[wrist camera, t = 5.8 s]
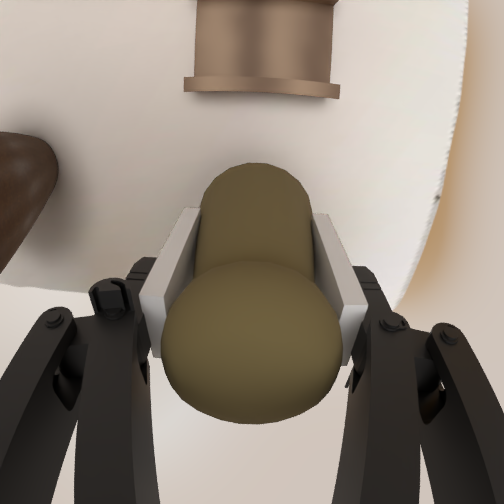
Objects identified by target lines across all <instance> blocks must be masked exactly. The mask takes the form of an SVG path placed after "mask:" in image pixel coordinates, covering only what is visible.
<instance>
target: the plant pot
mask: <svg viewBox="0 0 504 504" xmlns="http://www.w3.org/2000/svg"><path fill="white" fill-rule="evenodd" d="M57 176H58V166H57V160H56V157H55V154H54V152H53V151H52V149H51V147H50V146H49V145H48V144H47V143H46V142H45V141H43V140H41V139H39V138H35V137H32V136H28V135H23V134H17V133H10V132H0V274H1V272H2V271H3V269H4V268H5V267H6V265H7V264H8V262H9V261H10V260H11V258H12V257H13V255H14V254H15V252H16V251H17V249H18V248H19V246H20V245H21V243H22V242H23V240H24V239H25V237H26V235H27V234H28V232H29V231H30V229H31V228H32V226H33V224H34V223H35V221H36V219H37V218H38V216H39V214H40V213H41V211H42V209H43V207H44V205H45V204H46V202H47V200H48V198H49V196H50V194H51V192H52V190H53V188H54V186H55V184H56V181H57Z"/></svg>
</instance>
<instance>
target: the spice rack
mask: <svg viewBox="0 0 504 504" xmlns="http://www.w3.org/2000/svg"><path fill="white" fill-rule="evenodd" d="M338 1H339V0H197V17H196V38H195V67H194V77H184V92H192V91H247V92H270V93H285V94H297V95H308V96H317V97H326V98H333V99H339V95H340V85H338V84H331V83H330V71H331V54H332V33H333V6H334V5H335V4H336V3H337V2H338Z"/></svg>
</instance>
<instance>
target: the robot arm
mask: <svg viewBox="0 0 504 504" xmlns="http://www.w3.org/2000/svg"><path fill="white" fill-rule="evenodd" d="M200 218H201V208H184V209H183V211H182V213H181V215H180V217H179V218H178V220H177V222H176V224H175V226H174V227H173V229H172V231H171V233H170V235H169V237H168V239H167V240H166V242H165V244H164V246H163V248H162V250H161V252H160V254H159V256H158V258H153V257H143V258H141V259H140V260H139V261H137V262H136V263H135V264H134V265H133V267H132V269H131V270H130V273H129V274H128V275H127V277H126V280H123V279H120V278H108V279H103V280H101V281H99V282H97V283H95V284H94V285H93V286H92V287H91V288H90V290H89V292H88V293H89V296H90V300H91V303H92V306H93V309H94V312H95V315H92V316H87V317H78V318H74V317H73V315H72V312H71V311H70V310H69V309H68V308H65V307H54V308H51V309H48V310H47V311H45V312H43V314H42V315H41V316H40V317H39V318H38V320H37V321H36V323H35V324H34V325H33V327H32V328H31V330H30V331H29V333H28V335H27V336H26V338H25V339H24V341H23V342H22V344H21V346H20V347H19V349H18V351H17V352H16V354H15V355H14V357H13V359H12V360H11V362H10V364H9V365H8V367H7V369H6V371H5V372H4V374H3V376H2V377H1V380H0V504H51V502H52V498H53V495H54V491H55V487H56V484H57V480H58V477H59V474H60V470H61V467H62V464H63V461H64V458H65V455H66V451H67V449H68V446H69V443H70V440H71V437H72V434H73V431H74V428H75V425H76V422H77V420H78V425H77V436H76V449H75V473H74V474H75V475H74V504H160V499H159V492H158V484H157V475H156V466H155V456H154V445H153V433H152V418H151V399H150V366H149V362H148V359H147V356H148V353H149V350H150V347H151V350H152V354H153V357H155V358H161V336H162V332H163V328H164V323H165V320H166V317H167V314H168V312H169V309H170V307H171V306H172V304H173V303H174V302H175V301H176V299H177V298H178V297H179V296H180V294H181V293H182V292H183V291H184V289H185V288H186V287H187V286H188V285H189V284H190V282H191V281H192V280H193V271H194V260H195V249H196V240H197V234H198V229H199V224H200ZM311 226H312V234H313V243H314V269H315V284H316V285H317V287H318V288H319V289H320V290H321V292H322V293H323V294H324V296H325V297H326V299H327V300H328V302H329V303H330V305H331V306H332V308H333V309H334V311H335V312H336V314H337V318H338V321H339V324H340V328H341V334H342V342H343V357H342V364H341V366H347V364H348V362H349V359H350V356H352V360H353V363H354V366H353V368H352V370H351V373H350V375H349V378H348V380H347V382H346V385H345V388H348V386H349V392H348V393H349V394H348V402H347V411H346V419H345V428H344V435H343V442H342V448H341V455H340V462H339V467H338V473H337V479H336V484H335V489H334V495H333V500H332V504H419V492H420V491H419V490H420V444H421V448H422V452H423V456H424V459H425V464H426V468H427V471H428V476H429V481H430V485H431V489H432V494H433V499H434V504H504V413H503V411H502V408H501V406H500V404H499V402H498V399H497V397H496V395H495V393H494V391H493V389H492V387H491V385H490V383H489V381H488V379H487V377H486V375H485V373H484V371H483V369H482V367H481V365H480V363H479V361H478V359H477V358H476V356H475V354H474V352H473V350H472V348H471V346H470V345H469V343H468V341H467V339H466V337H465V336H464V335H463V333H462V332H461V330H460V329H458V328H457V327H455V326H453V325H451V324H449V323H438V324H436V325H435V326H434V327H433V328H432V330H431V332H430V333H429V332H424V331H419V330H415V329H411V328H410V326H409V324H408V322H407V321H406V319H405V318H403V316H401V315H399V314H397V313H395V312H392V310H391V308H390V306H389V304H388V302H387V299H386V297H385V295H384V293H383V291H382V290H381V287H380V285H379V284H378V281H377V279H376V277H375V275H374V274H373V273H372V272H371V271H370V270H369V269H368V268H367V267H365V266H352V265H351V263H350V261H349V258H348V256H347V254H346V252H345V250H344V247H343V245H342V243H341V241H340V239H339V237H338V234H337V232H336V230H335V228H334V226H333V224H332V222H331V220H330V218H329V215H328V214H316V213H312V218H311ZM441 382H442V383H443V385H444V388H445V389H444V388H443V387H442V384H441Z"/></svg>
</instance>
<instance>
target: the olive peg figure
mask: <svg viewBox="0 0 504 504" xmlns="http://www.w3.org/2000/svg"><path fill="white" fill-rule="evenodd" d="M200 208H201V218H200V224H199V229H198V234H197V240H196V249H195V260H194V271H193V280H192V281H191V282H190V284H189V285H188V286H187V287H186V288H185V289H184V291H183V292H182V293H181V294H180V296H179V297H178V298H177V299H176V301H175V302H174V303H173V304H172V306H171V307H170V309H169V312H168V314H167V317H166V320H165V323H164V328H163V332H162V336H161V359H162V363H163V367H164V370H165V374H166V376H167V378H168V380H169V382H170V385H171V386H172V388H173V389H174V390H175V391H176V393H177V394H178V395H179V397H180V398H181V399H182V400H183V401H185V402H186V403H188V404H189V405H190V406H192V407H193V408H195V409H196V410H198V411H200V412H202V413H204V414H207V415H209V416H212V417H214V418H217V419H220V420H224V421H228V422H233V423H238V424H265V423H273V422H279V421H282V420H285V419H288V418H291V417H294V416H297V415H300V414H301V413H303V412H305V411H307V410H309V409H310V408H312V407H314V406H315V405H317V404H318V403H319V402H320V401H321V400H322V399H323V398H324V397H325V396H326V394H328V393H329V391H330V390H331V388H332V386H333V384H334V382H335V380H336V378H337V375H338V372H339V370H340V367H341V364H342V357H343V342H342V334H341V328H340V324H339V321H338V318H337V314H336V312H335V311H334V309H333V308H332V306H331V305H330V303H329V302H328V300H327V299H326V297H325V296H324V294H323V293H322V292H321V290H320V289H319V288H318V287H317V285H316V284H315V269H314V243H313V234H312V226H311V218H312V209H311V205H310V200H309V196H308V194H307V193H306V191H305V190H304V188H303V187H302V185H301V183H300V182H299V181H298V180H297V179H296V178H294V177H293V176H292V175H291V174H289V173H288V172H287V171H286V170H284V169H281V168H278V167H275V166H273V165H270V164H265V163H246V164H242V165H239V166H235V167H232V168H229V169H228V170H226V171H225V172H223V173H222V174H220V175H219V176H218V177H216V178H215V179H214V180H213V182H212V183H211V184H210V186H209V187H208V188H207V190H206V191H205V193H204V196H203V199H202V202H201V205H200Z"/></svg>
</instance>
